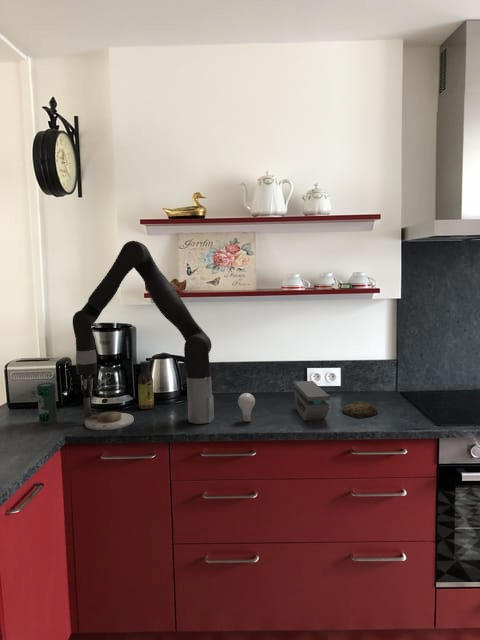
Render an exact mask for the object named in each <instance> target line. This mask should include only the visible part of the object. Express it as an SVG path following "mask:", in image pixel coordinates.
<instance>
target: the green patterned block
mask: <svg viewBox="0 0 480 640" xmlns="http://www.w3.org/2000/svg"><path fill="white" fill-rule="evenodd" d="M36 390H37V391H36V394H37V403H38V405H37V406H38V407H37V409H38V420H39V422H38V423H39V425H40V426H50V425H54V424H56V423H58V413H57V400H56V399H57V397H56V384H55V383H54V382H44V383H39V384H37V385H36Z"/></svg>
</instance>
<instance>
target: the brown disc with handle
mask: <svg viewBox="0 0 480 640" xmlns="http://www.w3.org/2000/svg"><path fill="white" fill-rule="evenodd" d="M82 401H83V412H84V413H83V414H84V418H86V420H97V421H99V422H114V421H118V420H120V419H121V418H122V417H121V413H122V412H119V411H105V412H101V413H99V414H92V408H91V406H92V405H91V406H90V398H89V397H87V398H85V397H84V398H83V399H82Z"/></svg>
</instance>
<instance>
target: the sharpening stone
mask: <svg viewBox="0 0 480 640" xmlns="http://www.w3.org/2000/svg"><path fill="white" fill-rule="evenodd" d="M293 386H294V387H295V388H296V389H294V401H295V406H296V411H297V414H299V416H300V418H302V420H303V421H304V422H306V421H307V422H308V421H324V420H326V418H327V415H328V413H329V410H330V404H329V403H328V402H327V401H330V400H331V398H330V395H329V394H328V393H327V392H325V390H323V388H321V386H319V385H317V383H315V381H313V380H301V381H299V380H298V381H293Z"/></svg>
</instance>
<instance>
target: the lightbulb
mask: <svg viewBox="0 0 480 640" xmlns="http://www.w3.org/2000/svg"><path fill="white" fill-rule="evenodd" d="M237 404H238V406H239V408H240V409H241V412H242V415H243V421H244V422H245V423H249V422H250V421H251V419H252V418H251V414H252V410H253V408H254V407H255V404H256V398H255V397H254V395H253V394H251V393H248V392H244V393H241V395H239V397H238V400H237Z"/></svg>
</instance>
